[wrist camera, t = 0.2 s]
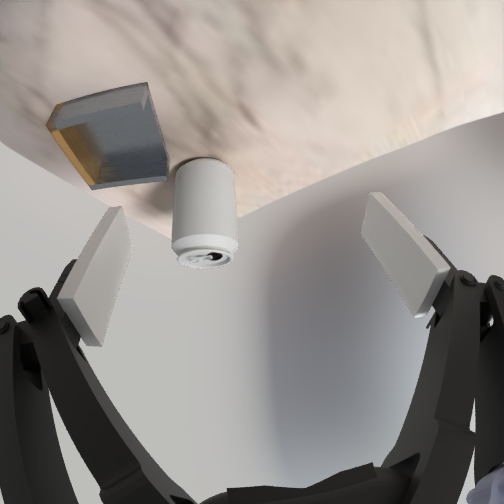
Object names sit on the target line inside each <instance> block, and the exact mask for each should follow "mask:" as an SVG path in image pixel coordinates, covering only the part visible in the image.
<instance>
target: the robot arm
mask: <svg viewBox="0 0 504 504" xmlns="http://www.w3.org/2000/svg"><path fill="white" fill-rule="evenodd" d="M361 236H362V237H363V238H364V240H365V241H366V243H367V244H368V246H369V247H370V249H371V250H372V252H373V253H374V255H375V256H376V257H377V259H378V260H379V262H380V263H381V265H382V267H383V268H384V269H385V271H386V273H387V274H388V276H389V277H390V279H391V281H392V282H393V284H394V285H395V287H396V288H397V290H398V292H399V293H400V295H401V297H402V298H403V300H404V301H405V303H406V305H407V307H408V308H409V310H410V312H411V313H412V315H413V317H414V318H416V317H421V316H425V315H427V313H428V312H429V310H430V308H431V306H433V307H434V309H435V313H434V314H433V317H432V318H431V320H430V321H429V323H428V325H427V327H426V328H427V329H428V328H429V326H430V325H431V328H430V333H429V338H428V342H427V347H426V351H425V356H424V360H423V364H422V368H421V371H420V375H419V379H418V382H417V386H416V389H415V393H414V395H413V398H412V402H411V405H410V408H409V411H408V414H407V416H406V419H405V422H404V424H403V427H402V430H401V432H400V435H399V437H398V440H397V442H396V444H395V446H394V448H393V449H392V450H391V452H390V453H389V454H388V455H387V457H386V458H385V460H384V462H383V464H382V465H381V467H374V466H373V463H369V464H366V465H362V466H359V467H356V468H352V469H349V470H345V471H341V472H339V473H337V474H335V475H333V476H331V477H329V478H327V479H325V480H323V481H321V482H318V483H316V484H314V485H312V486H310V487H307V488H287V487H273V486H255V487H241V488H227V492H224V493H220V494H218V495H215V496H212V497H210V498H208V499H206V500H205V501H203V502H202V503H200V504H457V502H458V499H459V496H460V494H461V491H462V488H463V485H464V482H465V479H466V476H467V473H468V469H469V466H470V462H471V459H472V455H473V451H474V447H475V456H474V458H475V459H474V479H475V488H474V489H472V490H471V491H470V492H469V493H468V495H467V498H466V500H467V503H468V504H504V280H503V279H502V278H501V277H498V276H496V275H491V276H490V277H489V278H488V280H487V282H486V283H479V282H478V281H477V280H476V278H475V277H474V276H473V275H472V274H470V273H468V272H467V271H463V270H457V269H456V268H455V267H454V265H453V264H452V263H451V262H450V261H449V260H448V258H447V257H446V256H445V255H444V254H443V253H442V251H441V250H440V249H438V247H437V246H436V245H435V244H434V242H433V241H431V240H430V239H429V238H427V237H426V236H424V235H422V234H421V233H420V232H419V230H417V228H416V227H415V226H414V225H413V224H412V223H411V222H410V221H409V220H408V219H407V218H406V217H405V216H404V215H403V214H402V213H401V212H400V211H399V210H398V209H397V208H396V207H395V206H394V205H393V204H392V203H391V202H390V201H389V200H388V199H387V198H386V197H385V196H384V195H383V194H382V193H381V192H369V196H368V201H367V207H366V211H365V216H364V221H363V226H362V230H361ZM133 250H134V249H133V245H132V242H131V238H130V235H129V231H128V227H127V224H126V220H125V216H124V212H123V208H122V206H118V207H110V208H109V209H108V210H107V212H106V213H105V215H104V216H103V218H102V219H101V221H100V222H99V224H98V226H97V227H96V229H95V230H94V232H93V233H92V235H91V237H90V238H89V240H88V242H87V244H86V245H85V247H84V249H83V250H82V252H81V254H80V256H79V258H78V259H74V260H72V261H71V262H70V263H69V264H68V265H67V266H66V267H65V269H64V271H63V272H62V274H61V276H60V278H59V280H58V283H56V285H55V287H54V289H53V291H52V293H51V295H50V297H49V298H48V297H47V295H46V293H45V292H44V290H43V289H42V288H39V287H37V288H32V289H30V290H28V291H27V292H26V293H24V294H23V296H22V297H21V298H20V300H19V302H18V309H19V311H20V312H21V313H22V315H23V316H24V318H25V319H26V320H25V321H22V322H18V323H17V322H16V320H15V319H14V318H13V316H11V315H6V316H3V317H2V318H0V489H1V492H2V496H3V500H4V504H79V503H78V501H77V498H76V496H75V493H74V490H73V488H72V485H71V482H70V479H69V476H68V473H67V470H66V467H65V463H64V460H63V457H62V453H61V449H60V446H59V441H58V437H57V433H56V429H55V424H54V419H53V414H52V409H51V403H50V396H49V390H50V393H51V395H52V398H53V400H54V403H55V405H56V407H57V410H58V412H59V414H60V416H61V418H62V420H63V423H64V425H65V427H66V429H67V431H68V433H69V435H70V437H71V439H72V441H73V442H74V444H75V446H76V448H77V450H78V452H79V453H80V455H81V457H82V459H83V460H84V462H85V464H86V465H87V467H88V469H89V470H90V472H91V473H92V475H93V477H94V478H95V480H96V481H97V483H98V485H99V486H100V489H101V490H100V494H99V495H100V498H101V501H102V502H103V504H197V503H196V502H195V501H194V500H193V499H192V498H191V497H190V496H189V495H188V494H187V493H186V492H185V491H184V490H183V489H182V488H181V487H180V486H178V485H177V484H176V483H175V482H174V481H172V480H171V479H170V478H169V477H168V476H167V475H166V473H165V472H164V471H163V470H162V469H161V468H160V466H159V465H158V464H157V463H156V462H155V461H154V459H153V458H152V457H151V456H150V455H149V453H148V452H147V451H146V450H145V448H144V447H143V446H142V444H141V443H140V442H139V440H138V439H137V438H136V437H135V435H134V434H133V433H132V431H131V430H130V429H129V427H128V426H127V424H126V423H125V421H124V420H123V418H122V417H121V415H120V414H119V412H118V411H117V409H116V408H115V406H114V405H113V403H112V402H111V400H110V399H109V397H108V395H107V394H106V393H105V391H104V389H103V387H102V386H101V384H100V382H99V380H98V379H97V377H96V375H95V374H94V372H93V370H92V368H91V367H90V365H89V363H88V361H87V359H86V357H85V355H84V353H83V351H82V349H81V348H80V346H79V345H78V344H79V341H80V338H82V340H83V341H84V342H85V344H86V345H87V346H100V347H101V346H102V345H103V341H104V337H105V334H106V330H107V327H108V323H109V320H110V316H111V314H112V310H113V307H114V304H115V301H116V297H117V295H118V292H119V289H120V286H121V283H122V280H123V277H124V274H125V271H126V269H127V266H128V263H129V260H130V258H131V255H132V252H133ZM492 318H493V320H494V321H493V325H492V326H490V323H489V322H490V320H491V319H492ZM48 388H49V389H48ZM474 398H475V413H476V414H475V416H476V432H472V431H470V428H469V427H470V421H471V416H472V410H473V404H474Z"/></svg>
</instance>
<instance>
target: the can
mask: <svg viewBox="0 0 504 504" xmlns="http://www.w3.org/2000/svg"><path fill="white" fill-rule="evenodd" d="M172 249H173V251H174V252H175V253H176V254H177V255H178V257H177V261H178V262H179V263H180V264H181V265H183V266H186V267H190V268H197V269H210V268H218V267H222V266H225V265H228V264H230V263H231V262H232V261H233V260H234V258H233V253H234V252H235V251H236V250H237V249H238V230H237V212H236V194H235V175H234V171H233V170H232V168H231V167H229V166H228V165H226V164H225V163H223V162H221V161H219V160H216V159H213V158H198V159H195V160H191V161H190V162H188V163H186V164H185V165H183V166H181V167H180V168H179V170H178V171H177V172H176V177H175V190H174V205H173V223H172Z"/></svg>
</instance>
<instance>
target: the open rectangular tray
mask: <svg viewBox="0 0 504 504" xmlns="http://www.w3.org/2000/svg"><path fill="white" fill-rule="evenodd" d="M46 126H47V128H48V129H49V131H50V132H51V134H52V135H53V137H54V138H55V140H56V141H57V143H58V144H59V146H60V147H61V148H62V150H63V151H64V153H65V154H66V156H67V157H68V158H69V160H70V161H71V163H72V164H73V165H74V167H75V168H76V169H77V171H78V172H79V174H80V175H81V176H82V178H83V179H84V180H85V182H86V183H87V184H88V185H89V187H90V188H91V189H92V190H95V189H102V188H109V187H117V186H124V185H132V184H141V183H150V182H160V181H168V174H169V164H170V159H169V156H168V153H167V150H166V146H165V143H164V140H163V136H162V133H161V130H160V126H159V123H158V119H157V116H156V112H155V109H154V105H153V102H152V98H151V95H150V91H149V87H148V83H147V82H145V83H140V84H134V85H129V86H124V87H120V88H115V89H111V90H107V91H102V92H99V93H95V94H91V95H87V96H84V97H80V98H77V99H73V100H70V101H67V102H64V103H61V104H58V105H56V107H55V109H54V111H53V113H52V115H51V117H50V119H49V121H48V123H47V125H46Z"/></svg>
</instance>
